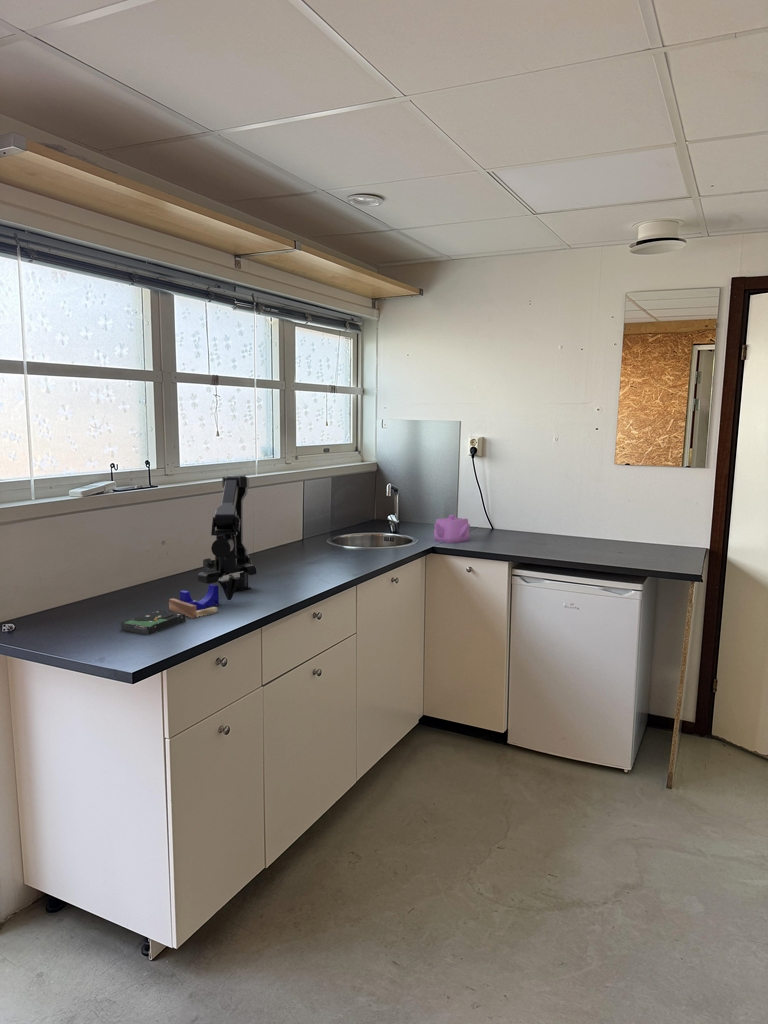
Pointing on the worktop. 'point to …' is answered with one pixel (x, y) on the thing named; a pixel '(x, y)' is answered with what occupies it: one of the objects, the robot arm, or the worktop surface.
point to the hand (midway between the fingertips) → (229, 599)
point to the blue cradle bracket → (208, 600)
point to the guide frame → (188, 608)
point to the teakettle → (451, 529)
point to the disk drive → (152, 622)
